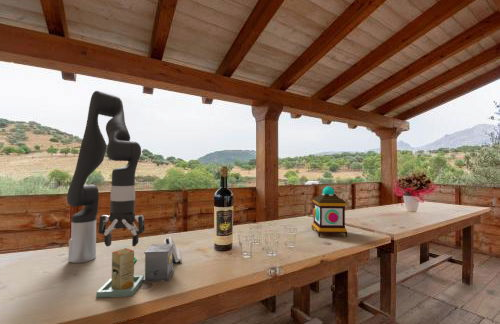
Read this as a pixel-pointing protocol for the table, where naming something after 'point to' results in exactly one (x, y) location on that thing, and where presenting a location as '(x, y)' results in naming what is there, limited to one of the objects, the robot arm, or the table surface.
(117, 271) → the shoe polish box
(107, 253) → the table surface
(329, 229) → the decorative lantern
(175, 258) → the white piece
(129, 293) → the tray
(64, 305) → the table surface
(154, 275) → the box
